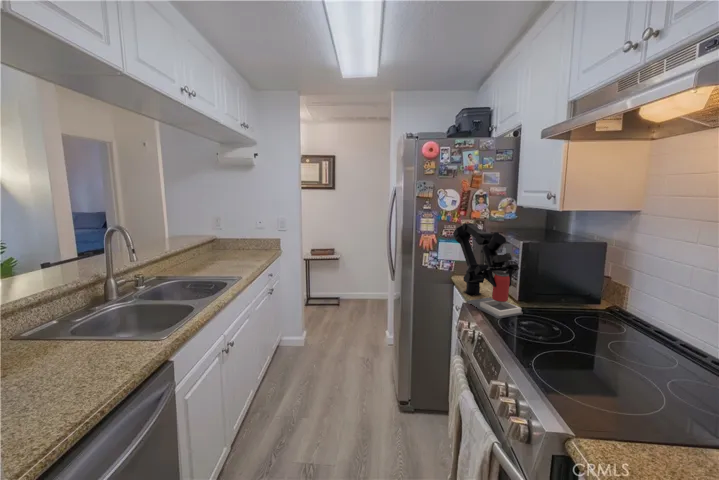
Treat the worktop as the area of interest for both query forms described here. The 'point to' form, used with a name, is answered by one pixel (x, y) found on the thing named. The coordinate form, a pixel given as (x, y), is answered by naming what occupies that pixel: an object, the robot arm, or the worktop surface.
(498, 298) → the beer can
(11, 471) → the worktop surface
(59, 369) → the worktop surface
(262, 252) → the worktop surface
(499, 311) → the plate
